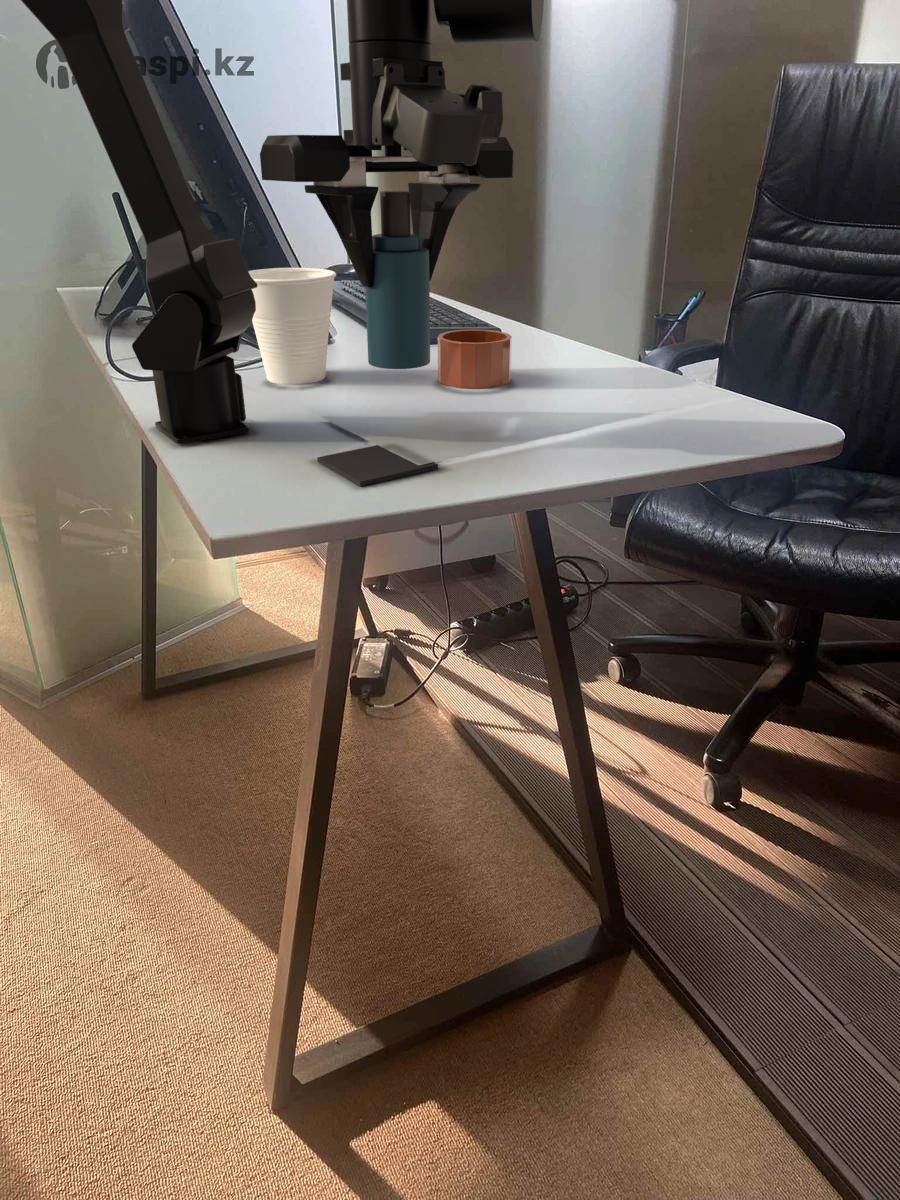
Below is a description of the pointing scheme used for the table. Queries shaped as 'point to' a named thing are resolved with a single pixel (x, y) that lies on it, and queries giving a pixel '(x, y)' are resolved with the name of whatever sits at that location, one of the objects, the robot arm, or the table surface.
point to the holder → (474, 359)
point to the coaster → (372, 465)
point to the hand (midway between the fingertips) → (396, 284)
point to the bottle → (398, 291)
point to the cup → (293, 322)
